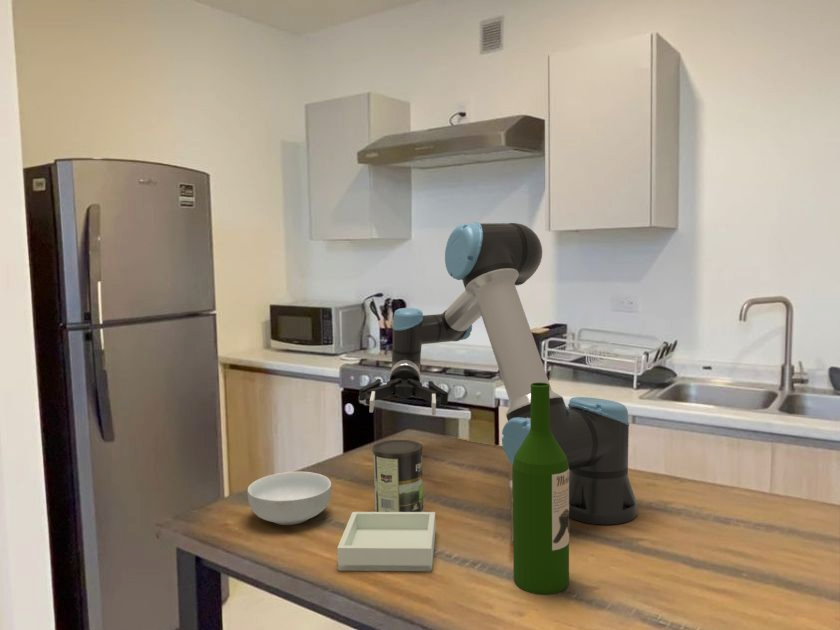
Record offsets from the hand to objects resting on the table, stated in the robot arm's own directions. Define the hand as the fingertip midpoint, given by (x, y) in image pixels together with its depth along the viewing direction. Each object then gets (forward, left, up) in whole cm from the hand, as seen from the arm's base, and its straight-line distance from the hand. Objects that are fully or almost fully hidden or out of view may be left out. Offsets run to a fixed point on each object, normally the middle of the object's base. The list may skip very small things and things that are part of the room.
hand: (402, 407), depth 147 cm
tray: (+1, +26, -20) cm, 33 cm away
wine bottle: (-25, +37, -20) cm, 49 cm away
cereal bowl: (+23, +11, -20) cm, 32 cm away
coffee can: (+1, +8, -20) cm, 22 cm away
